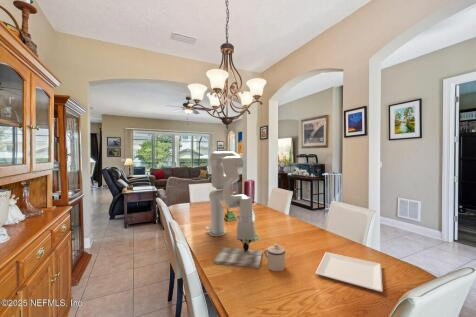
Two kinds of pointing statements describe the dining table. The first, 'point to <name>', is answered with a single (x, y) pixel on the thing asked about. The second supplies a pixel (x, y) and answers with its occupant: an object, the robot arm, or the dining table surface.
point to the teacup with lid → (275, 257)
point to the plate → (351, 271)
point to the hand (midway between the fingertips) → (246, 250)
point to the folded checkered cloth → (241, 251)
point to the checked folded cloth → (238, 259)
